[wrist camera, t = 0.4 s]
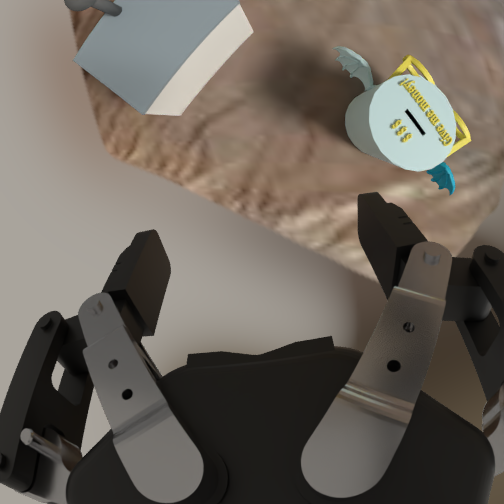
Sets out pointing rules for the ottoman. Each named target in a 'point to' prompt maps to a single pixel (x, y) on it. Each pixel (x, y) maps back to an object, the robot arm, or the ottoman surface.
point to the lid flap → (145, 42)
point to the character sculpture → (403, 119)
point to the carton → (202, 64)
